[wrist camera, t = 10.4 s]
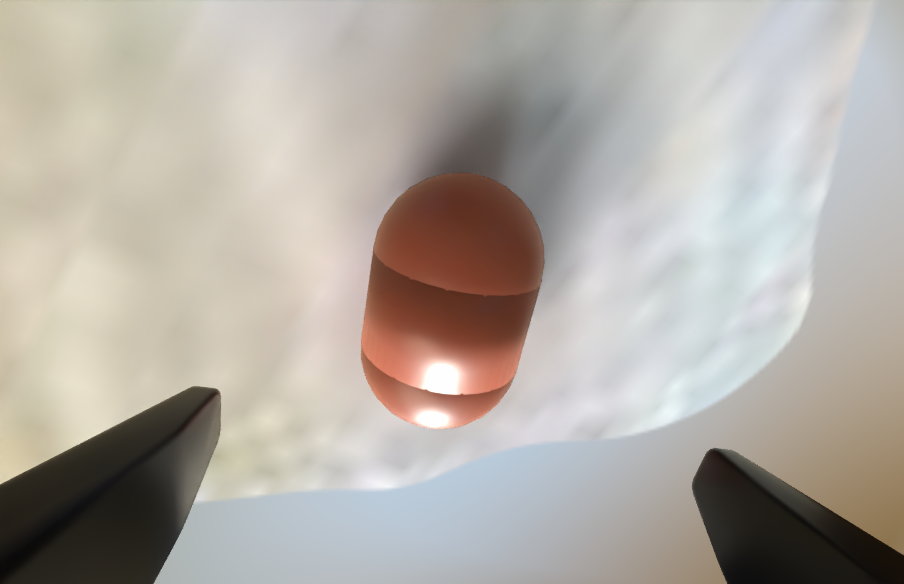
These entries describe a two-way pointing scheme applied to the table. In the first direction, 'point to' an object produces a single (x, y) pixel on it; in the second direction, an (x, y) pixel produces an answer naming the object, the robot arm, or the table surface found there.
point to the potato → (450, 299)
